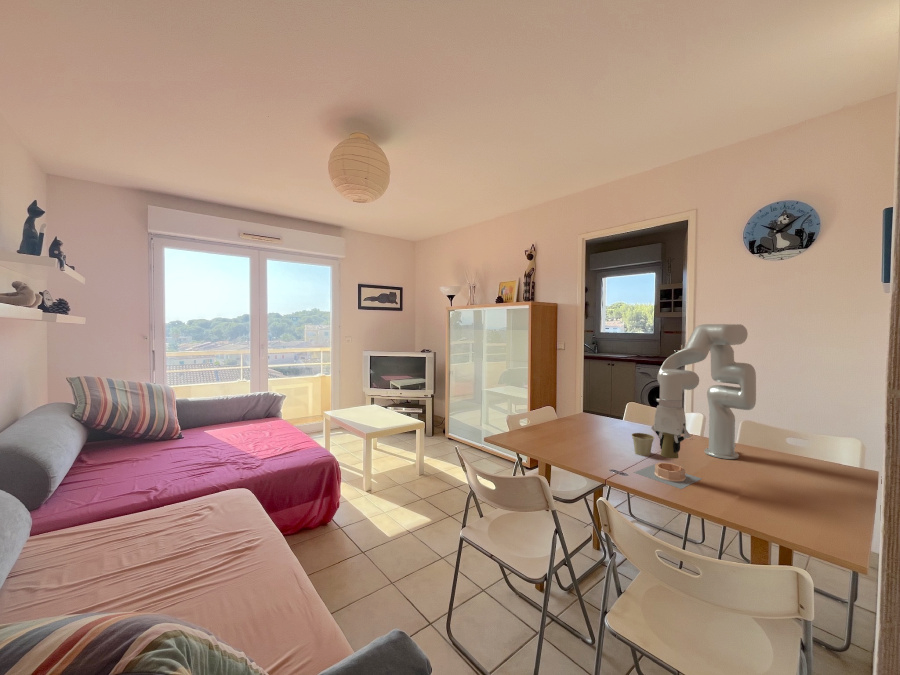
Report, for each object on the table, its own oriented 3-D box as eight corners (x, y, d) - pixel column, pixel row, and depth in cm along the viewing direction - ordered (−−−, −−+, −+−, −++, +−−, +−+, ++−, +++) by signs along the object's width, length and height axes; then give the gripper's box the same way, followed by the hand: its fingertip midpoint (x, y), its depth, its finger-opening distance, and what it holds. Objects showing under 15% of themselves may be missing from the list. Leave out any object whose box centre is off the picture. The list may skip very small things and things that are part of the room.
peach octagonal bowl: (663, 469, 153) (663, 460, 152) (690, 477, 144) (690, 468, 144) (649, 474, 147) (649, 465, 147) (676, 484, 138) (677, 474, 138)
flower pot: (658, 458, 166) (658, 439, 166) (637, 458, 166) (637, 439, 166) (647, 451, 175) (648, 432, 175) (627, 451, 176) (627, 432, 175)
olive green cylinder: (676, 454, 147) (677, 426, 146) (680, 459, 141) (681, 430, 141) (659, 452, 149) (659, 425, 148) (662, 457, 143) (662, 429, 143)
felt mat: (655, 464, 158) (655, 464, 158) (702, 479, 143) (702, 478, 143) (633, 473, 149) (633, 472, 149) (681, 490, 134) (681, 488, 134)
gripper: (644, 400, 149) (643, 446, 150) (689, 408, 135) (688, 458, 136) (654, 398, 153) (653, 443, 154) (699, 406, 139) (698, 454, 140)
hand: (669, 449), depth 145 cm, fingers closed on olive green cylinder, 4 cm apart
